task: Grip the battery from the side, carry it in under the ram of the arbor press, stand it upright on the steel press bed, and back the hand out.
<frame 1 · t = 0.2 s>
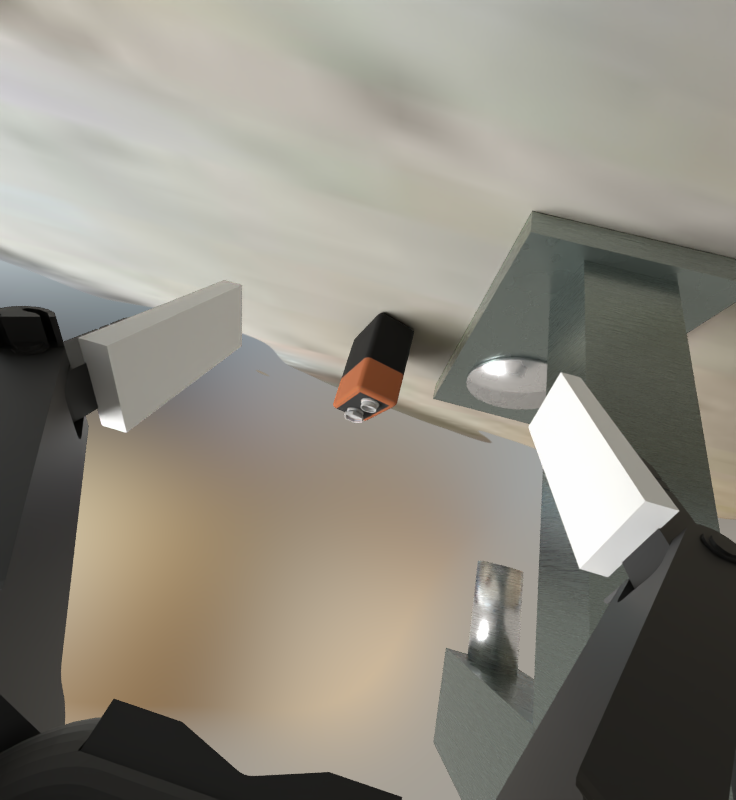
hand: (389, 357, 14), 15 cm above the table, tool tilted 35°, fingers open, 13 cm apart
battery: (383, 332, 38), on the table
arbor press: (516, 368, 37), on the table
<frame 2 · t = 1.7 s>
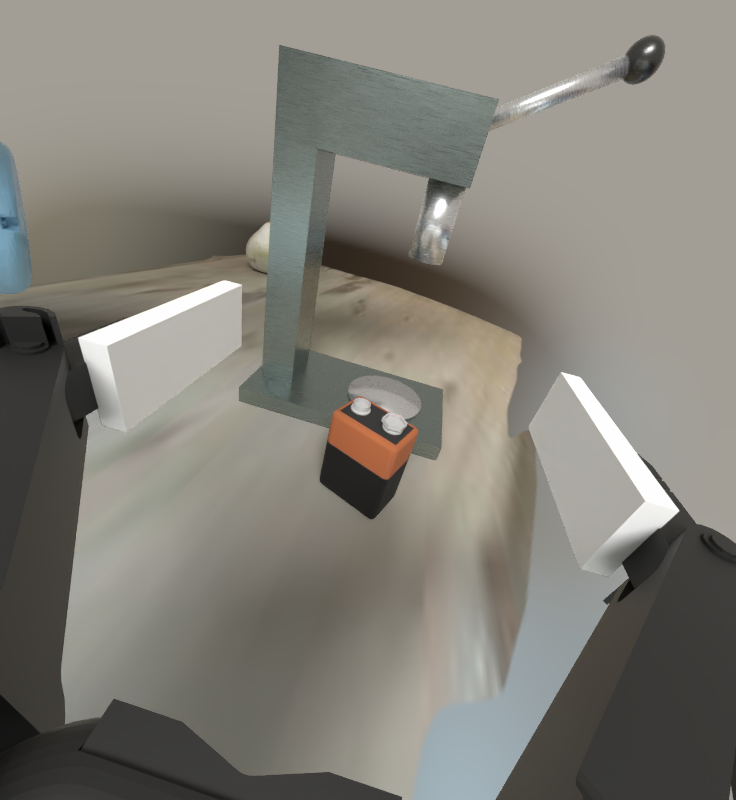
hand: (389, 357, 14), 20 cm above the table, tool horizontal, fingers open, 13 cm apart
battery: (356, 490, 35), on the table
arbor press: (380, 409, 47), on the table
fruit: (266, 272, 87), on the table
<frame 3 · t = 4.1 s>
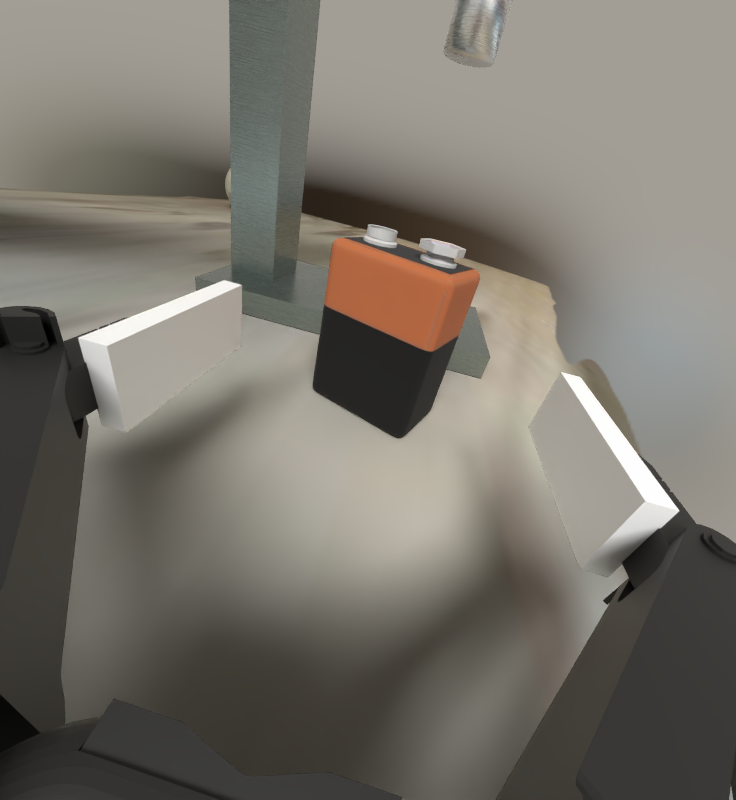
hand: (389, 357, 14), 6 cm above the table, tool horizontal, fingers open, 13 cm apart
battery: (370, 404, 22), on the table
arbor press: (396, 325, 35), on the table
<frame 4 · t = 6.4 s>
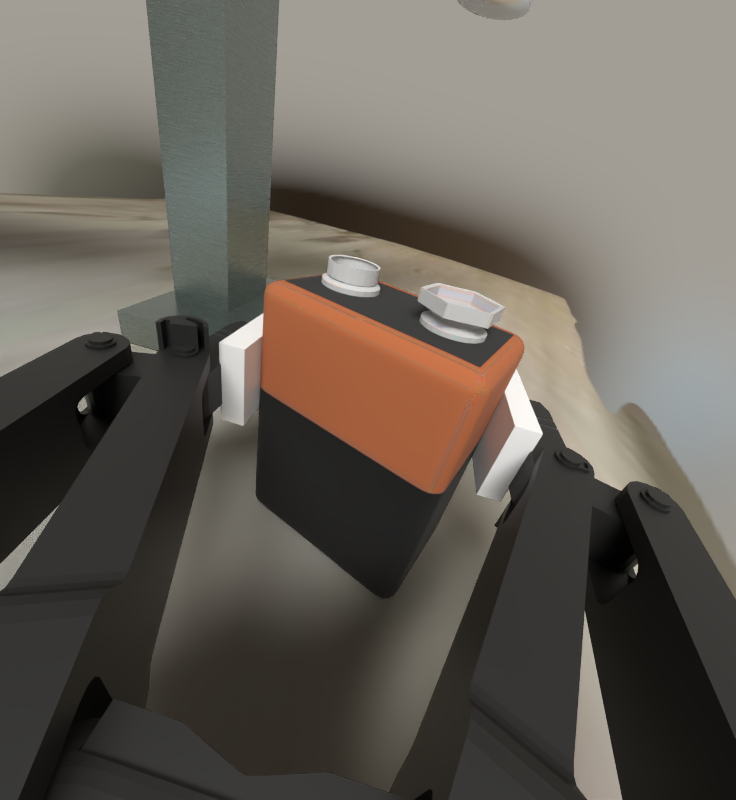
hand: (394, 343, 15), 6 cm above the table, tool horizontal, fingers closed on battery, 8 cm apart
battery: (344, 517, 15), on the table, touching gripper
arbor press: (391, 365, 27), on the table
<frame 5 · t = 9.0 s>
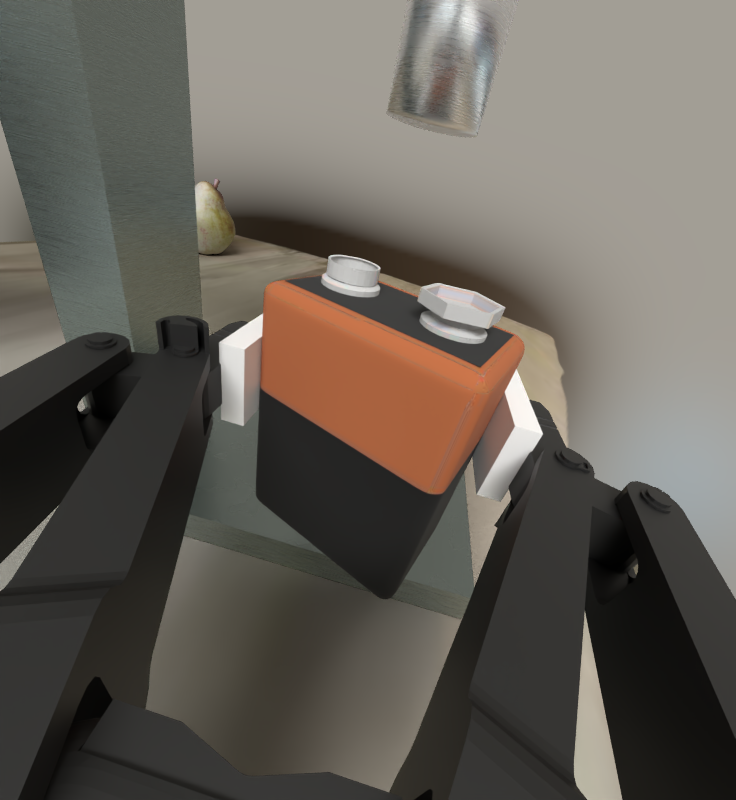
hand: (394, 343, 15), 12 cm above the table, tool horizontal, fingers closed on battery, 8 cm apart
battery: (344, 517, 15), point 6 cm above the table, touching gripper
arbor press: (344, 481, 24), on the table
fruit: (204, 253, 64), on the table
when the fingers open (9 cm above the table, at t = 11.8 s): battery drops 1 cm, resting on arbor press.
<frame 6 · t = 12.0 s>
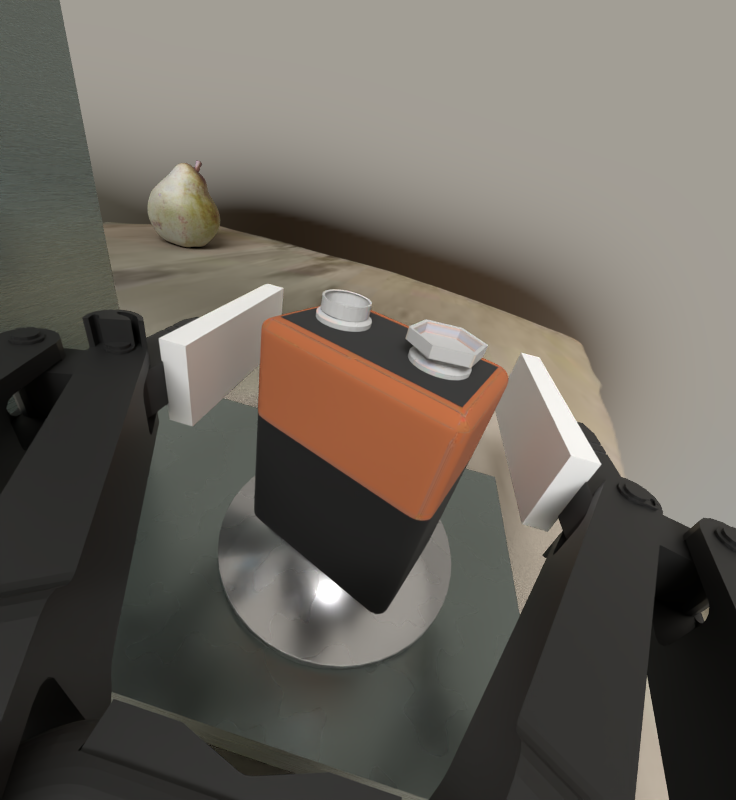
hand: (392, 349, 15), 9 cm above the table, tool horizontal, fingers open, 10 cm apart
battery: (339, 533, 15), point 2 cm above the table, touching arbor press
arbor press: (333, 560, 16), on the table
fruit: (186, 245, 56), on the table
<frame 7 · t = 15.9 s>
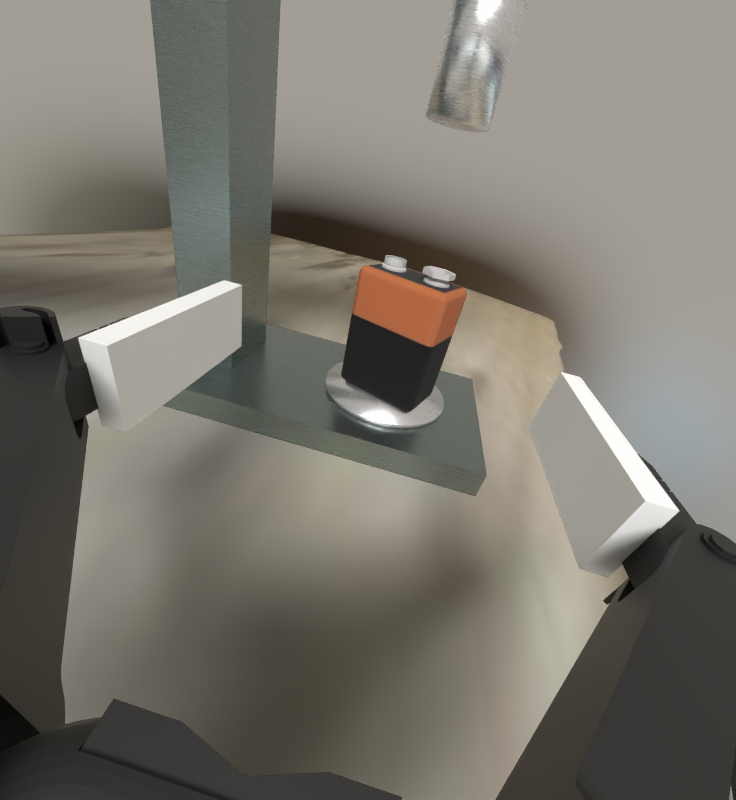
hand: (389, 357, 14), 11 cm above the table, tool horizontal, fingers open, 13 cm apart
battery: (384, 389, 29), point 2 cm above the table, touching arbor press
arbor press: (379, 410, 30), on the table
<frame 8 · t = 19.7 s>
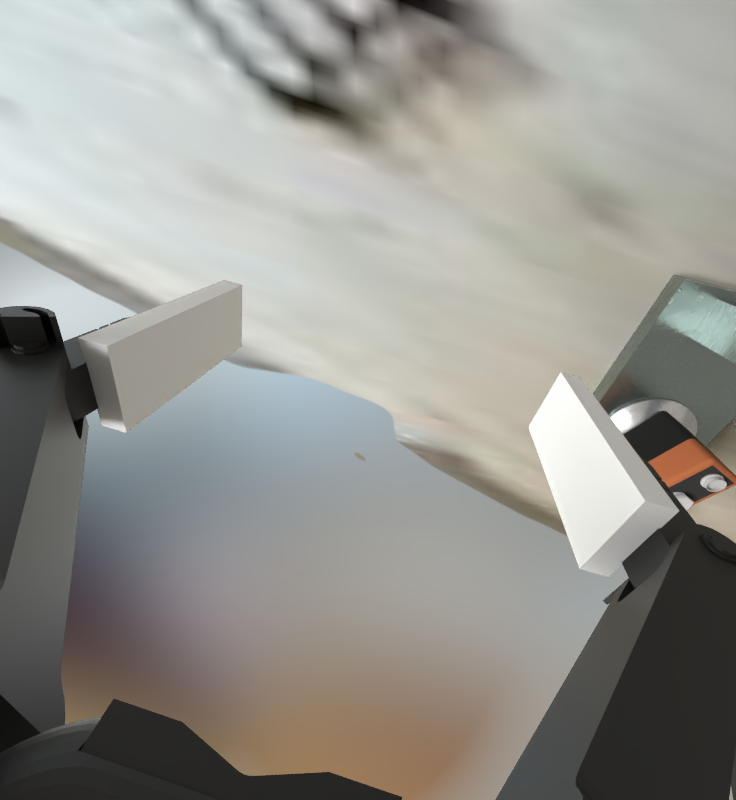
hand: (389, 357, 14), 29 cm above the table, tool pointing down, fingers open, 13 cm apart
battery: (645, 434, 42), point 2 cm above the table, touching arbor press
arbor press: (637, 424, 44), on the table
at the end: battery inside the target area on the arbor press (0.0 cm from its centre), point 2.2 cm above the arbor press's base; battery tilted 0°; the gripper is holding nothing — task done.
